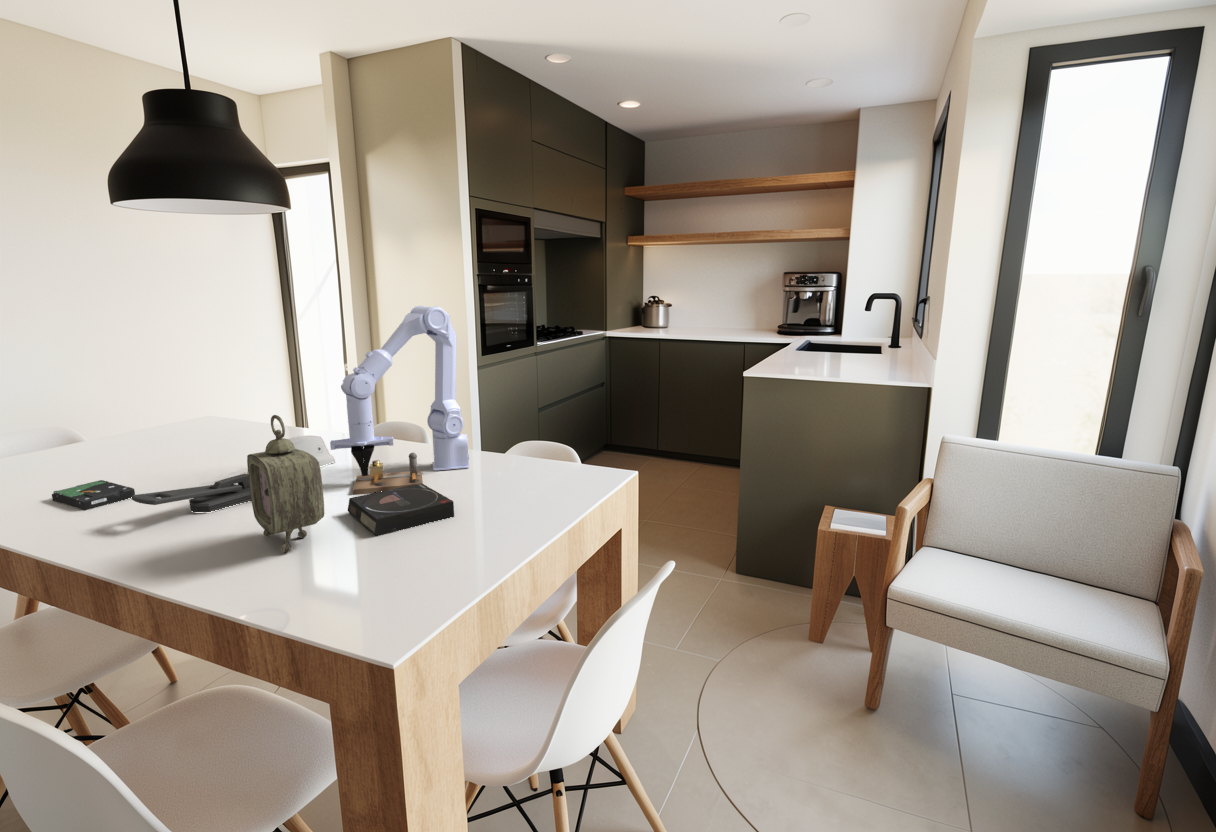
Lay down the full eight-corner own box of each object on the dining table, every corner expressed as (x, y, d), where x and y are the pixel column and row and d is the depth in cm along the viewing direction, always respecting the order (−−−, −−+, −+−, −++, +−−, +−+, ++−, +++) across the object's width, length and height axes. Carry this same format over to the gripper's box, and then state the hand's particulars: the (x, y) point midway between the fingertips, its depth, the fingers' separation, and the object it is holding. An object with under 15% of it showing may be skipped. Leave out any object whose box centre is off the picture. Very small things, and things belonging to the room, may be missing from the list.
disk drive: (137, 499, 145) (103, 489, 151) (135, 488, 144) (101, 478, 151) (85, 513, 136) (51, 502, 142) (83, 501, 135) (49, 491, 141)
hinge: (285, 478, 159) (272, 441, 158) (273, 482, 161) (261, 446, 161) (337, 462, 174) (325, 428, 173) (326, 465, 176) (314, 433, 176)
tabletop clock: (255, 536, 121) (240, 413, 116) (303, 524, 127) (291, 406, 122) (279, 558, 111) (263, 424, 106) (330, 544, 117) (317, 417, 112)
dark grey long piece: (125, 495, 126) (240, 464, 148) (130, 526, 127) (243, 490, 149) (152, 501, 122) (265, 469, 144) (157, 532, 123) (268, 495, 146)
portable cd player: (348, 516, 134) (346, 498, 133) (422, 499, 144) (421, 483, 144) (374, 539, 121) (373, 519, 120) (454, 518, 132) (453, 501, 131)
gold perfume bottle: (383, 474, 157) (382, 459, 156) (382, 482, 150) (381, 466, 149) (371, 475, 156) (370, 460, 155) (369, 483, 149) (368, 467, 148)
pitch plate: (422, 474, 162) (420, 448, 161) (422, 488, 151) (421, 460, 150) (357, 480, 157) (355, 453, 156) (353, 494, 146) (350, 465, 145)
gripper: (326, 427, 145) (331, 482, 148) (391, 423, 150) (395, 476, 152) (330, 421, 152) (335, 473, 155) (392, 417, 156) (395, 468, 159)
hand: (365, 474), depth 154 cm, fingers closed
